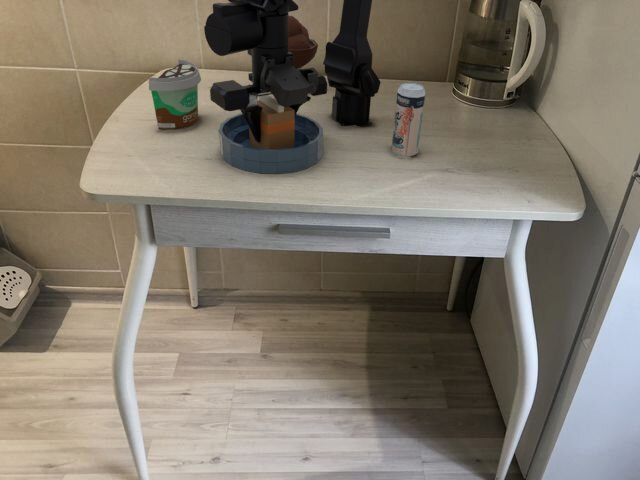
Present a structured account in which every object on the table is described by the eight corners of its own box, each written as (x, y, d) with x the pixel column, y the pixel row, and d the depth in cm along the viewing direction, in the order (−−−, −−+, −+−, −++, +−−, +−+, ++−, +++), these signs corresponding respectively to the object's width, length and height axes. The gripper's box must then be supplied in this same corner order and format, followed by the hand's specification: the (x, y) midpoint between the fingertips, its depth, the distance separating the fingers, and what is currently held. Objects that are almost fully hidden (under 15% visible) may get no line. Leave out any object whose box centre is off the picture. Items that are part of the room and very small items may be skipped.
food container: (187, 139, 105) (181, 83, 99) (155, 134, 106) (147, 78, 100) (215, 114, 115) (211, 62, 109) (185, 110, 116) (179, 58, 110)
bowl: (304, 130, 112) (305, 107, 109) (335, 170, 99) (337, 145, 97) (212, 138, 106) (210, 114, 104) (232, 182, 93) (231, 155, 91)
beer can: (386, 148, 108) (393, 82, 101) (410, 145, 109) (418, 80, 102) (398, 159, 104) (406, 92, 97) (422, 156, 106) (431, 90, 99)
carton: (275, 141, 106) (274, 90, 100) (294, 155, 102) (294, 102, 96) (249, 146, 103) (247, 94, 98) (268, 161, 99) (267, 107, 94)
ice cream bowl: (315, 97, 127) (317, 23, 118) (262, 93, 126) (260, 19, 118) (318, 81, 135) (320, 10, 127) (269, 77, 135) (268, 6, 126)
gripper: (239, 66, 82) (244, 169, 91) (349, 50, 92) (343, 145, 101) (204, 45, 89) (212, 142, 98) (309, 32, 99) (308, 122, 108)
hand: (271, 138), depth 101 cm, fingers closed on carton, 5 cm apart
